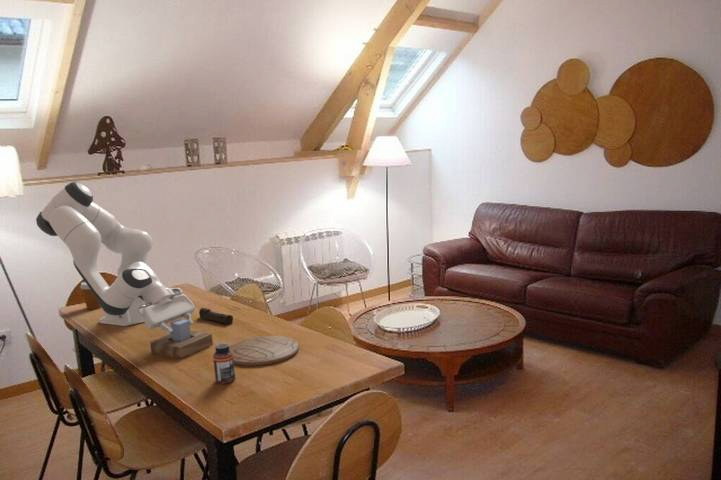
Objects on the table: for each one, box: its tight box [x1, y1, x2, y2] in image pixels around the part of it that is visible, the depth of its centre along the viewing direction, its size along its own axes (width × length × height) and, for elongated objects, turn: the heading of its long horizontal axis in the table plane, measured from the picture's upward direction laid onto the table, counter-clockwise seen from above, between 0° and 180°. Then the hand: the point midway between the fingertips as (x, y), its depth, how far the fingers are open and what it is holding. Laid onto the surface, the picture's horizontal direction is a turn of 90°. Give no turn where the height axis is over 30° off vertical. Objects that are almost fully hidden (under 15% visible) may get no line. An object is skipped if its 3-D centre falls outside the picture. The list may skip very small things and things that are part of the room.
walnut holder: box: [149, 329, 214, 360], centre depth 211 cm, size 15×15×4 cm
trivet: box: [229, 335, 299, 367], centre depth 204 cm, size 25×25×2 cm
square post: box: [169, 318, 191, 342], centre depth 211 cm, size 4×4×10 cm
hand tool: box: [198, 307, 234, 326], centre depth 242 cm, size 19×4×5 cm, turn 51°
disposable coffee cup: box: [79, 281, 102, 311], centre depth 270 cm, size 10×10×12 cm
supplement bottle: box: [212, 343, 236, 385], centre depth 181 cm, size 6×6×11 cm
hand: (181, 328), depth 210 cm, fingers open, 8 cm apart
